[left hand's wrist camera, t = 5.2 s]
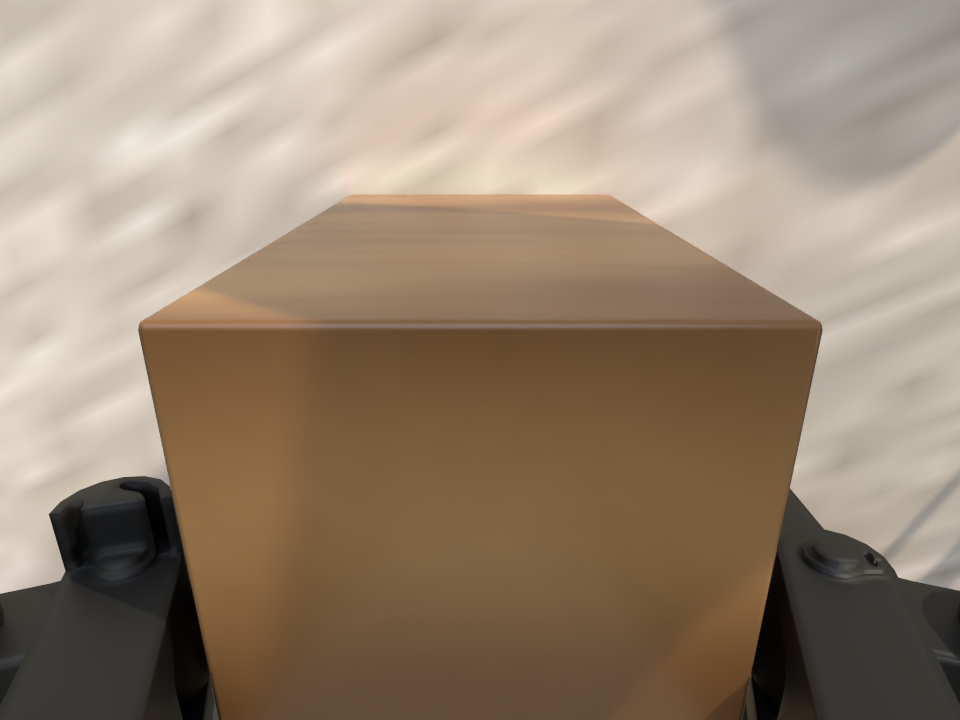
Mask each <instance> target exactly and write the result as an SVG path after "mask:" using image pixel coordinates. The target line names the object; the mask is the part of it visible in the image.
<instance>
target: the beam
mask: <svg viewBox="0 0 960 720" xmlns="http://www.w3.org/2000/svg"><path fill="white" fill-rule="evenodd" d="M138 331H139V336H140V341H141V345H142V350H143V355H144V360H145V365H146V370H147V374H148V379H149V384H150V389H151V394H152V398H153V403H154V408H155V413H156V418H157V422H158V427H159V432H160V437H161V442H162V447H163V451H164V456H165V461H166V466H167V471H168V475H169V480H170V485H171V490H172V495H173V500H174V504H175V509H176V514H177V519H178V524H179V528H180V533H181V538H182V543H183V548H184V553H185V557H186V562H187V567H188V572H189V577H190V581H191V586H192V591H193V596H194V601H195V605H196V610H197V615H198V620H199V625H200V630H201V634H202V639H203V644H204V649H205V654H206V658H207V663H208V668H209V673H210V678H211V683H212V687H213V692H214V697H215V702H216V707H217V711H218V716H219V720H741V719H742V714H743V710H744V705H745V700H746V695H747V690H748V686H749V681H750V676H751V671H752V666H753V662H754V657H755V652H756V647H757V642H758V638H759V633H760V628H761V623H762V618H763V613H764V609H765V604H766V599H767V594H768V589H769V585H770V580H771V575H772V570H773V565H774V561H775V556H776V551H777V546H778V541H779V537H780V532H781V527H782V522H783V517H784V513H785V508H786V503H787V498H788V493H789V489H790V484H791V479H792V474H793V469H794V465H795V460H796V455H797V450H798V445H799V441H800V436H801V431H802V426H803V421H804V417H805V412H806V407H807V402H808V397H809V392H810V388H811V383H812V378H813V373H814V368H815V364H816V359H817V354H818V349H819V344H820V340H821V335H822V325H821V322H819V321H818V320H816V319H814V318H813V317H811V316H809V315H808V314H806V313H804V312H803V311H801V310H799V309H798V308H796V307H794V306H793V305H791V304H789V303H788V302H786V301H784V300H783V299H781V298H780V297H778V296H776V295H775V294H773V293H771V292H770V291H768V290H766V289H765V288H763V287H761V286H760V285H758V284H756V283H755V282H753V281H751V280H750V279H748V278H746V277H745V276H743V275H741V274H740V273H738V272H736V271H735V270H733V269H731V268H730V267H728V266H726V265H725V264H723V263H721V262H720V261H718V260H716V259H715V258H713V257H711V256H710V255H708V254H706V253H705V252H703V251H702V250H700V249H698V248H697V247H695V246H693V245H692V244H690V243H688V242H687V241H685V240H683V239H682V238H680V237H678V236H677V235H675V234H673V233H672V232H670V231H668V230H667V229H665V228H663V227H662V226H660V225H658V224H657V223H655V222H653V221H652V220H650V219H648V218H647V217H645V216H643V215H642V214H640V213H638V212H637V211H635V210H633V209H632V208H630V207H628V206H627V205H625V204H623V203H622V202H620V201H619V200H617V199H615V198H614V197H612V196H610V195H350V196H349V197H347V198H345V199H344V200H342V201H340V202H339V203H337V204H335V205H334V206H332V207H330V208H329V209H327V210H325V211H324V212H322V213H320V214H319V215H317V216H315V217H314V218H312V219H310V220H309V221H307V222H305V223H304V224H302V225H300V226H299V227H297V228H295V229H294V230H292V231H291V232H289V233H287V234H286V235H284V236H282V237H281V238H279V239H277V240H276V241H274V242H272V243H271V244H269V245H267V246H266V247H264V248H262V249H261V250H259V251H257V252H256V253H254V254H252V255H251V256H249V257H247V258H246V259H244V260H242V261H241V262H239V263H238V264H236V265H234V266H233V267H231V268H229V269H228V270H226V271H224V272H223V273H221V274H219V275H218V276H216V277H214V278H213V279H211V280H209V281H208V282H206V283H204V284H203V285H201V286H199V287H198V288H196V289H194V290H193V291H191V292H189V293H188V294H186V295H184V296H183V297H181V298H180V299H178V300H176V301H175V302H173V303H171V304H170V305H168V306H166V307H165V308H163V309H161V310H160V311H158V312H156V313H155V314H153V315H151V316H150V317H148V318H146V319H145V320H143V321H141V322H140V324H139V330H138Z"/></svg>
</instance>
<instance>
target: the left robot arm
mask: <svg viewBox="0 0 960 720" xmlns="http://www.w3.org/2000/svg"><path fill="white" fill-rule="evenodd" d="M49 516H50V520H51V523H52V526H53V530H54V533H55V537H56V540H57V543H58V547H59V550H60V553H61V557H62V560H63V564H64V567H65V570H66V572H65V574H64V576H63V578H62V580H61V581H58V582H55V583H51V584H46V585H41V586H36V587H32V588H27V589H22V590H17V591H12V592H7V593H2V594H0V720H212V716H213V708H214V699H213V692H212V686H211V681H210V673H209V668H208V663H207V658H206V654H205V649H204V644H203V639H202V634H201V630H200V625H199V620H198V615H197V610H196V605H195V601H194V596H193V591H192V586H191V581H190V577H189V572H188V567H187V562H186V557H185V553H184V548H183V543H182V538H181V533H180V528H179V524H178V519H177V514H176V509H175V504H174V500H173V495H172V490H171V489H170V486H169V485H167V484H166V483H165V482H163V481H162V480H161V479H156V478H151V477H146V476H139V477H122V478H118V479H113V480H109V481H104V482H100V483H98V484H95V485H92V486H90V487H87V488H85V489H82V490H80V491H78V492H76V493H74V494H73V495H71V496H70V497H68V498H66V499H65V500H63V501H61V502H60V503H59V504H58V505H57V506H56V507H55V508H54V509H53V511H52V512H51V513H50V514H49ZM742 720H960V591H957V590H952V589H948V588H943V587H938V586H933V585H928V584H923V583H918V582H913V581H909V580H905V579H901V578H898V577H897V574H896V572H895V570H894V569H893V568H892V567H891V565H890V564H889V563H888V562H887V560H886V559H885V558H884V557H883V556H882V555H881V554H879V553H878V552H876V551H875V550H874V549H872V548H871V547H869V546H868V545H867V544H865V543H862V542H860V541H858V540H856V539H853V538H851V537H849V536H847V535H844V534H840V533H836V532H832V531H828V530H824V529H823V528H822V526H821V525H820V524H819V523H818V522H817V520H816V519H815V518H814V517H813V516H812V514H811V513H810V512H809V511H808V510H807V508H806V507H805V506H804V505H803V504H802V502H801V501H800V500H799V499H798V498H797V496H796V495H795V494H794V493H793V492H792V490H791V489H789V493H788V498H787V503H786V508H785V513H784V517H783V522H782V527H781V532H780V537H779V541H778V546H777V551H776V556H775V561H774V565H773V570H772V575H771V580H770V585H769V589H768V594H767V599H766V604H765V609H764V613H763V618H762V623H761V628H760V633H759V638H758V642H757V647H756V652H755V657H754V662H753V666H752V671H751V677H750V681H749V686H748V691H747V696H746V701H745V705H744V710H743V715H742Z"/></svg>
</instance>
